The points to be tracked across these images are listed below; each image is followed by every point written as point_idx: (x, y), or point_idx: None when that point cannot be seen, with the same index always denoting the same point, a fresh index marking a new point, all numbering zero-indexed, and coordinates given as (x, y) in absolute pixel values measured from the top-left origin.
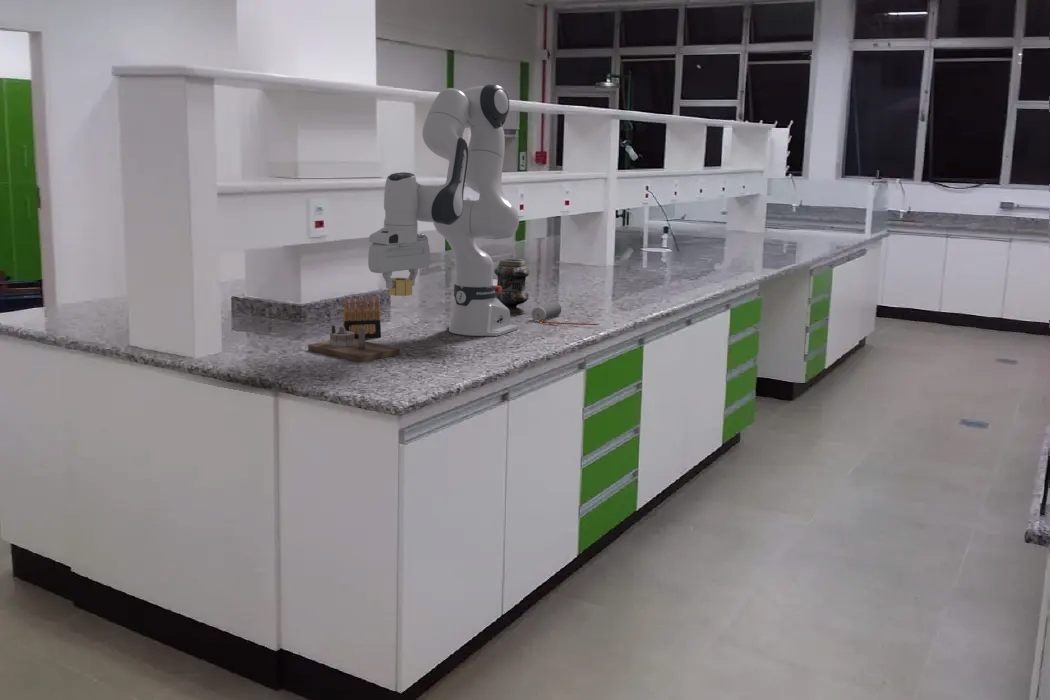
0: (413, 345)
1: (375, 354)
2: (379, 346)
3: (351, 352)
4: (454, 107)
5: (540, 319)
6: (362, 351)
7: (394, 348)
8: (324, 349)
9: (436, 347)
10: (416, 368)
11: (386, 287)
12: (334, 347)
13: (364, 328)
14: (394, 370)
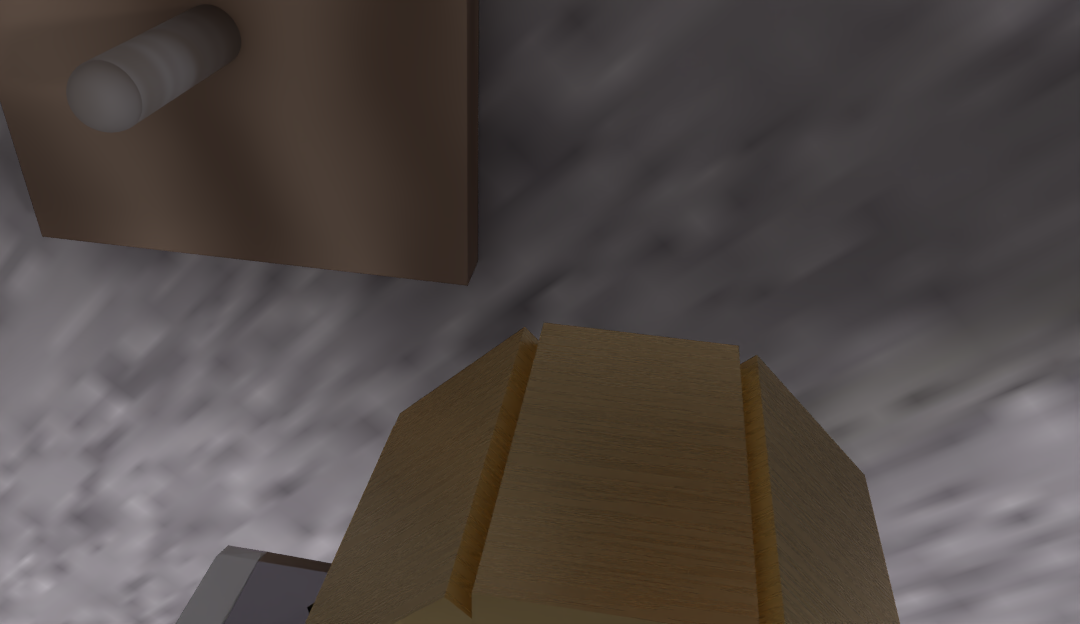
0: (869, 130)
1: (197, 251)
2: (397, 100)
3: (48, 84)
4: None
5: None
6: (148, 128)
7: (439, 250)
8: None
9: (908, 327)
10: (278, 530)
11: (225, 557)
12: None
13: (121, 127)
14: (146, 474)
